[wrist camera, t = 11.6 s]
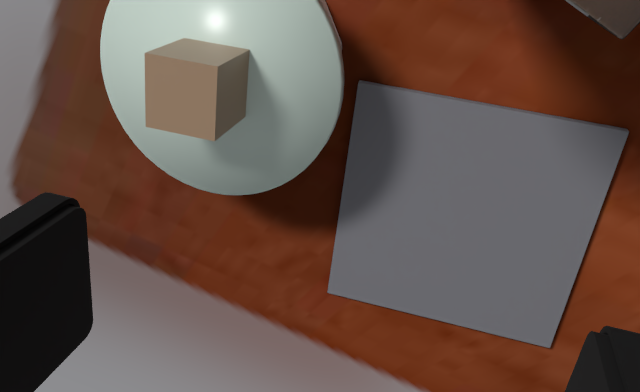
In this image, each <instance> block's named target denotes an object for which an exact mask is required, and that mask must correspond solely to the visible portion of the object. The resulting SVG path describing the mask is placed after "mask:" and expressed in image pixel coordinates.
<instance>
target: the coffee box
mask: <svg viewBox="0 0 640 392" xmlns="http://www.w3.org/2000/svg"><path fill="white" fill-rule="evenodd" d="M565 1H567V2H568V3H569V4H571V5H572V6H574V7H575V8H576V9H578V10H579V11H580V12H582V13H583V14H584V15H586V16H587V17H589V18H590V19H592V20H593V21H594V22H596V23H597V24H599V25H600V26H601V27H603V28H604V29H606V30H607V31H609V32H610V33H612V34H613V35H615V36H617V37H618V38H620V39H624V38H625V37H626V36H627V35H628V34H629V33H630V32H631V31H632V30H633V29H634V28H635V27H636V26H637V25H638V24H639V23H640V0H565Z"/></svg>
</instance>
